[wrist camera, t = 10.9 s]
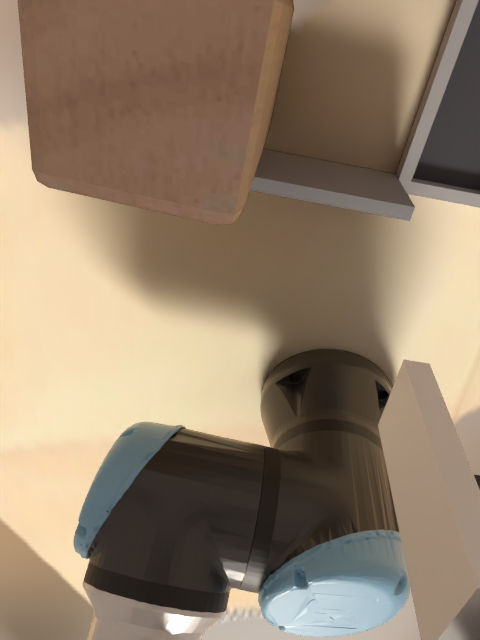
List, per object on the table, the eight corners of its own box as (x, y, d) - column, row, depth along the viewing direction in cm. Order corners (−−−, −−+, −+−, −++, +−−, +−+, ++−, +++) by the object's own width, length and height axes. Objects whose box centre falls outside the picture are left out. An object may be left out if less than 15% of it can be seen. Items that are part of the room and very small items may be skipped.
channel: (391, 185, 38) (409, 220, 32) (253, 159, 38) (242, 188, 32) (475, -56, 29) (525, -77, 23) (294, -89, 29) (291, -119, 23)
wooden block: (158, -39, 31) (-4, -99, 15) (297, -8, 31) (288, -34, 15) (149, 113, 37) (24, 190, 21) (267, 139, 37) (236, 237, 21)
